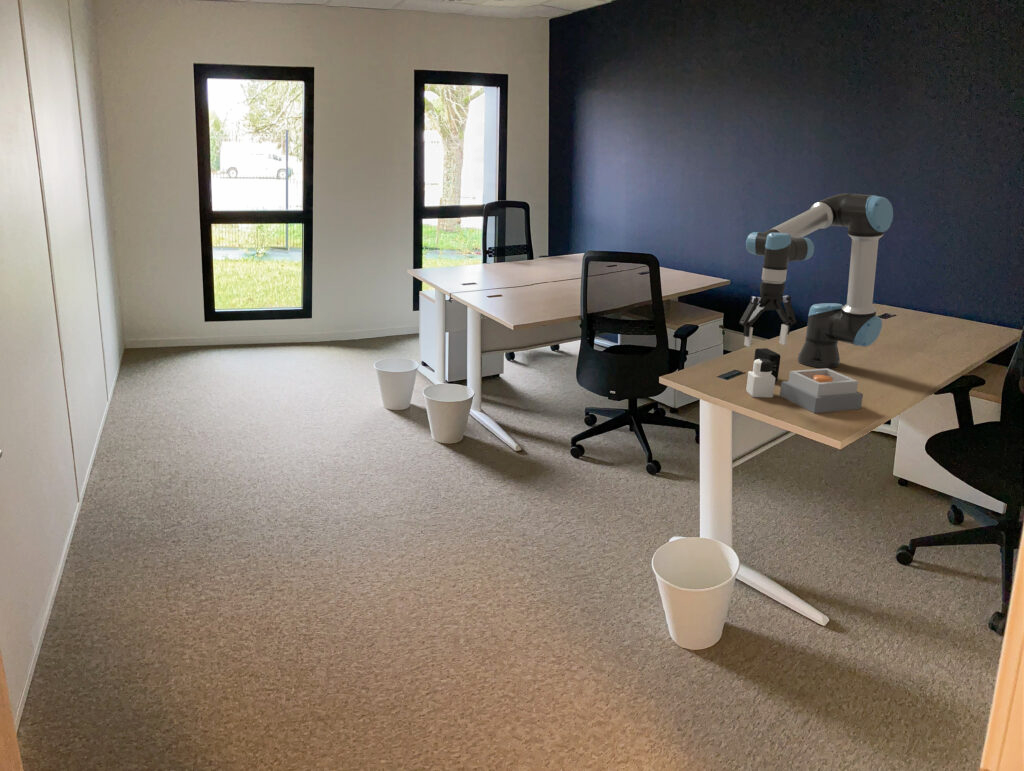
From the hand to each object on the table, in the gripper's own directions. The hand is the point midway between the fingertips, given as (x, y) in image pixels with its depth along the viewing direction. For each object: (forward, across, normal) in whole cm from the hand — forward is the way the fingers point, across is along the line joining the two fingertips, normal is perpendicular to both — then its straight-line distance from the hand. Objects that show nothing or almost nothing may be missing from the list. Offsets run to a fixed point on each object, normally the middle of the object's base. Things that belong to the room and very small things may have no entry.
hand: (764, 345), depth 276 cm
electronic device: (+17, -13, -16) cm, 27 cm away
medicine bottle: (+17, 0, 0) cm, 17 cm away
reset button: (+14, -15, +12) cm, 24 cm away
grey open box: (+17, -15, +12) cm, 26 cm away
